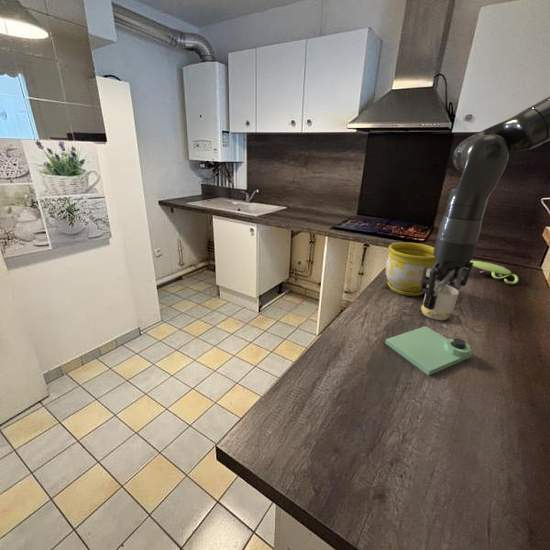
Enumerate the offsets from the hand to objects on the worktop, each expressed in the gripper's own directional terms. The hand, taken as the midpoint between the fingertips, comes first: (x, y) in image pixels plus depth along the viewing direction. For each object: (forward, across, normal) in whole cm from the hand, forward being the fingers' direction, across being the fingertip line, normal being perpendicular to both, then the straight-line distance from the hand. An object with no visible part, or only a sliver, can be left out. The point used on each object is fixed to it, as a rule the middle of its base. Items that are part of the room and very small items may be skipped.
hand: (438, 305), depth 69 cm
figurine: (+16, +73, +31) cm, 81 cm away
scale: (+16, +4, +2) cm, 16 cm away
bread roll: (+16, +23, +14) cm, 31 cm away
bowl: (+1, 0, 0) cm, 1 cm away
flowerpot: (+16, +30, +32) cm, 46 cm away
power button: (+13, +9, -2) cm, 16 cm away
